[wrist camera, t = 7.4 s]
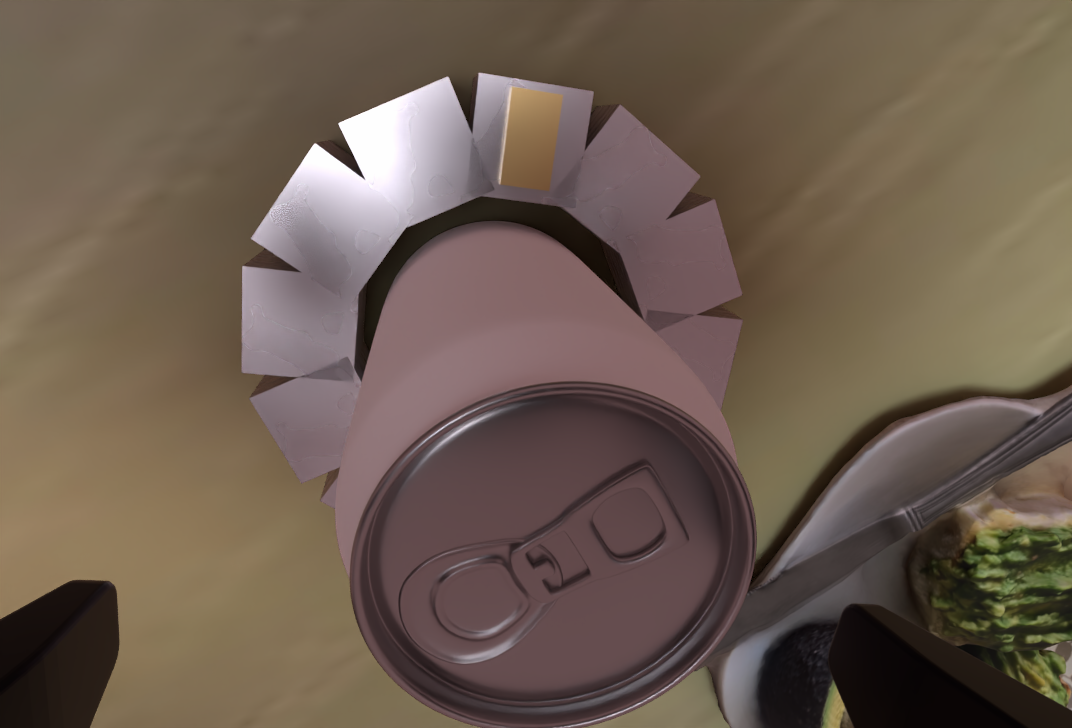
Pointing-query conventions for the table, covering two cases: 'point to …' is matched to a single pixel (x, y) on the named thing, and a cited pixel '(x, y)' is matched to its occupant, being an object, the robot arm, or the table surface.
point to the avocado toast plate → (919, 560)
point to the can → (535, 491)
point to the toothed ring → (446, 182)
